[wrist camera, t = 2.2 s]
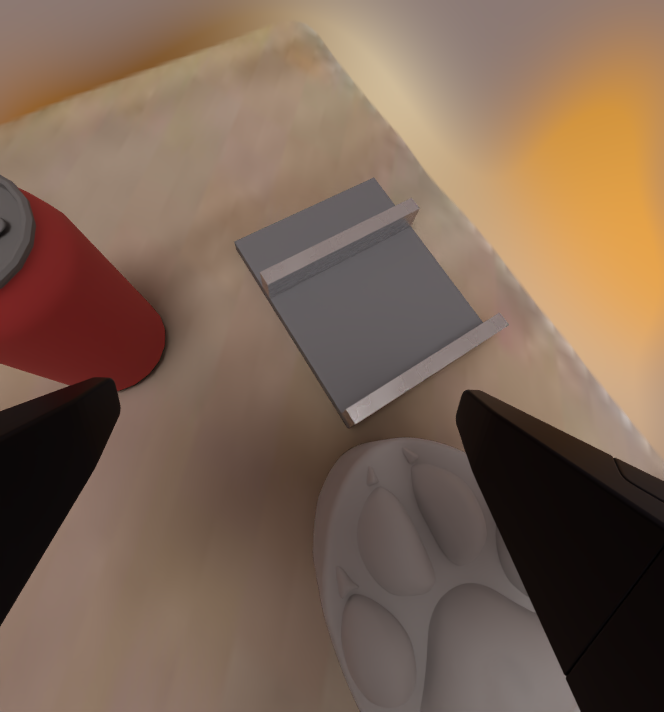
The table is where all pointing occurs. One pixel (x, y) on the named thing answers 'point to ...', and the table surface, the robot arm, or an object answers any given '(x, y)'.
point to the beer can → (67, 301)
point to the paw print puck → (426, 588)
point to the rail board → (363, 297)
